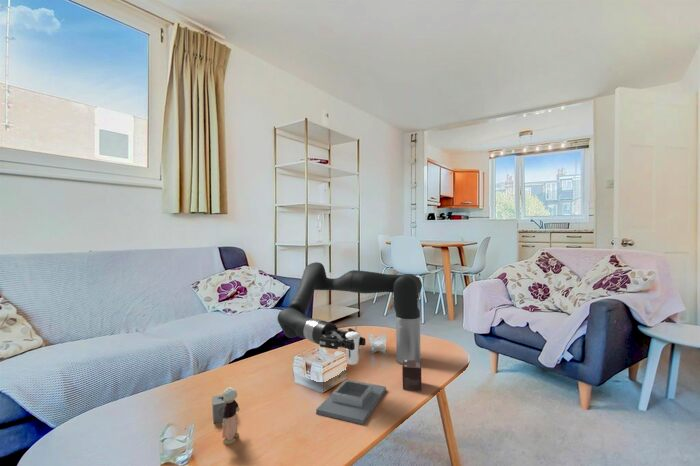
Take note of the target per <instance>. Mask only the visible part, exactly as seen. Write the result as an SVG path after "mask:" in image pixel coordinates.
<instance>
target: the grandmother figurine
mask: <svg viewBox="0 0 700 466" xmlns="http://www.w3.org/2000/svg"><path fill="white" fill-rule="evenodd" d="M222 395H223V398H224V401H225V402H226V403H227V404H226V406H225V408H224V415H223V421H222V424H221V426H222V432H221V434H222V435H221V438H222V439H224V440H223V442H222V443H223V445H231V444H234V443H235V442H236V438H238V437H239V436H240V433H239V432H238V431H239V430H238V421H237V417H236V414H237V413H238V412H240V410H241V409H240V406H239V403H238V402H237V401H236V398H237V397H238V392H237V389H236V388H234V387H231V386H230V387H226V388H225V389H224V391H223V393H222Z"/></svg>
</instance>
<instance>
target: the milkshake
mask: <svg viewBox="0 0 700 466" xmlns="http://www.w3.org/2000/svg"><path fill="white" fill-rule="evenodd" d="M357 329H358V326H357V325H356V326H355V329H354V330H355V332H348V333H347V334H346V335H345V337H346V340H348V341H352V342H354V343H355V349H354V350H350V349H347V348H345V352H346V353H345V354H346V363H347V364H348V365H350V366H352V365H354V366H355V365H358V363H359V355H360V354H359V353H360V346H361V345H360V338H361V337H362V335H361V333H360V332H359V331H358V330H357ZM356 331H357V332H356ZM358 332H359V333H358Z"/></svg>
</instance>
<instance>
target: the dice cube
mask: <svg viewBox="0 0 700 466" xmlns="http://www.w3.org/2000/svg"><path fill="white" fill-rule="evenodd" d="M211 400H212V401H211V403H212V405H211V406H212V407H211V408H212V410H211V411H212V420H213V421H212V423H213V424H217V423H221V422H222V423H223V415H224V408H225V406H226V404H227V403H226V402H225V401H224V398H223V394H219V395H214V396H211Z"/></svg>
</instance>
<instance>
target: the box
mask: <svg viewBox="0 0 700 466" xmlns="http://www.w3.org/2000/svg"><path fill="white" fill-rule="evenodd" d="M401 366H402V368H401V369H402V370H401V371H402V372H401V373H402V377H401V378H402V389H403V390H409V391H410V390H411V391H422V389H423V388H422V385H423V383H422V361H413V360H403V364H401Z"/></svg>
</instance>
